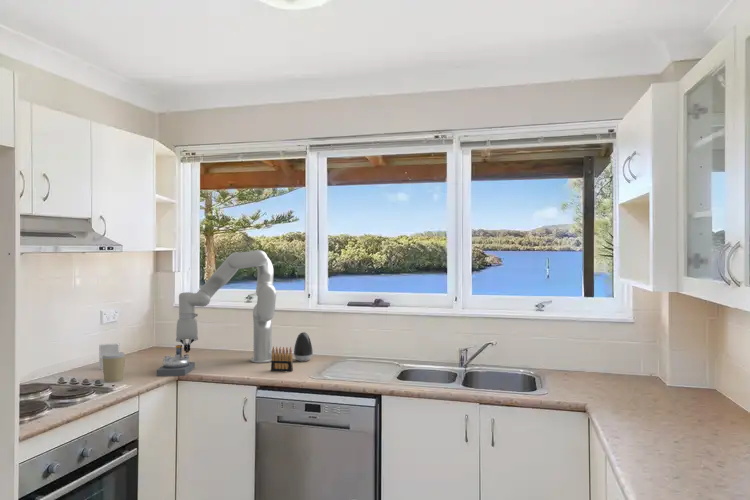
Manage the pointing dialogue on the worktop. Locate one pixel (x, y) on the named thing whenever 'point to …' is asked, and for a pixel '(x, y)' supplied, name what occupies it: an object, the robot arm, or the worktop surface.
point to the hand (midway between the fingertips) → (187, 352)
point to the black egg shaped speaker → (303, 347)
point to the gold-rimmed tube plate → (176, 359)
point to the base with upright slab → (106, 351)
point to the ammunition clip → (281, 360)
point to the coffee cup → (113, 366)
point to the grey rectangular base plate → (175, 370)
